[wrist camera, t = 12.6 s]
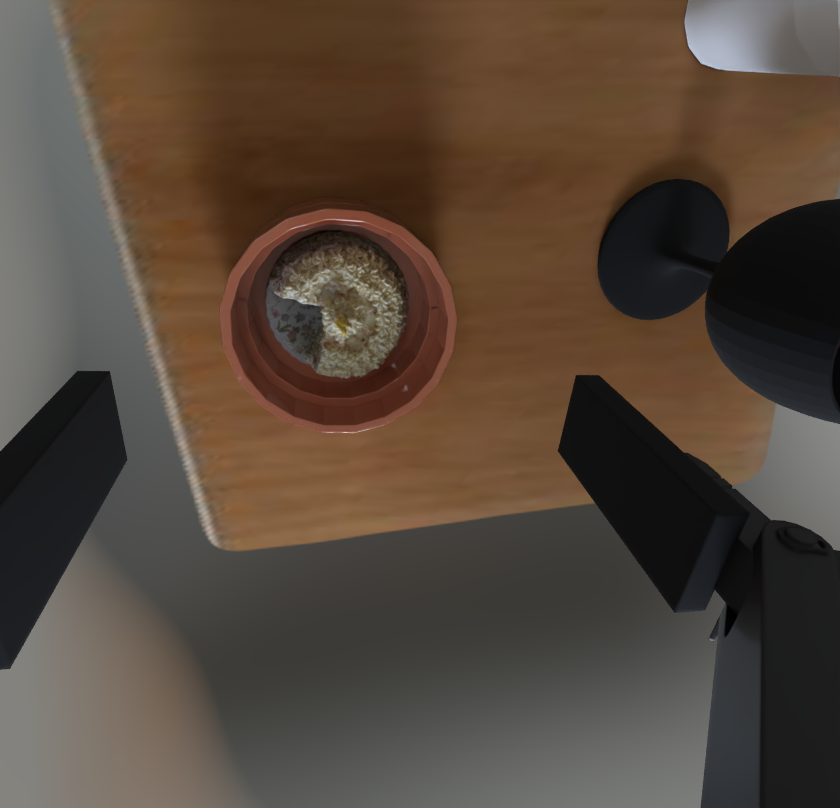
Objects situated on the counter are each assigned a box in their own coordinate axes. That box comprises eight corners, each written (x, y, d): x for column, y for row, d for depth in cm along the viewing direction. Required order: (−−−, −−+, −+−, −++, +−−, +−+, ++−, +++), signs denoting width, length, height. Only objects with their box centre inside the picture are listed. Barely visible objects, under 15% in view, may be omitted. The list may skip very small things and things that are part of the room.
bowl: (227, 188, 33) (210, 199, 28) (447, 205, 36) (470, 219, 31) (239, 393, 40) (228, 433, 34) (427, 394, 42) (442, 432, 37)
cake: (366, 201, 35) (379, 208, 30) (429, 328, 40) (450, 351, 35) (234, 275, 35) (227, 293, 30) (313, 393, 40) (318, 425, 35)
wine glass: (708, 316, 43) (972, 438, 26) (587, 322, 42) (779, 456, 24) (743, 177, 39) (1095, 209, 21) (608, 178, 37) (865, 213, 19)
